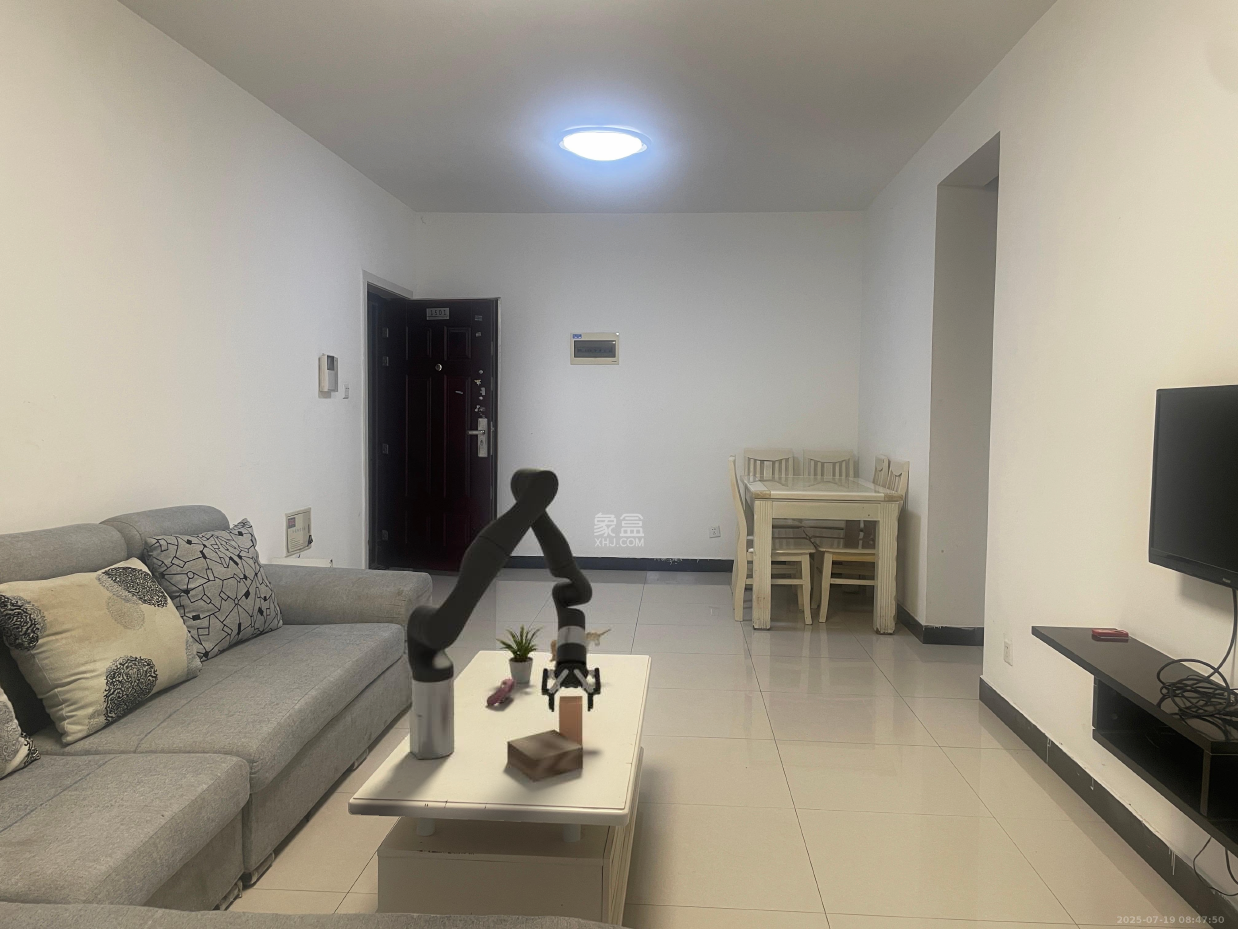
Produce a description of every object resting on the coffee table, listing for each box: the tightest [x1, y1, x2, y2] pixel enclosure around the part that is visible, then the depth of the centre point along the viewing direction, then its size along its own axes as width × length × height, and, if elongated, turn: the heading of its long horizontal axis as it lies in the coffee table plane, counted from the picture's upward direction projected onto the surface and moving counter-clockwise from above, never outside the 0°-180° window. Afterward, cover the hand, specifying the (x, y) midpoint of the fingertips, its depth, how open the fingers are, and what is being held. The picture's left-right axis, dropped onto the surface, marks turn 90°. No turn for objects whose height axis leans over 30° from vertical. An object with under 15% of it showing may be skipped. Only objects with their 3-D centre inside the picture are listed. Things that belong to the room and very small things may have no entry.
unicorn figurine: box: [548, 628, 612, 669], centre depth 238 cm, size 7×20×13 cm, turn 75°
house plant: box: [495, 623, 546, 684], centre depth 232 cm, size 14×14×16 cm
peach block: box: [558, 695, 583, 746], centre depth 186 cm, size 5×5×10 cm
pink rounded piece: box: [486, 677, 517, 706], centre depth 214 cm, size 10×5×7 cm, turn 169°
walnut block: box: [506, 729, 584, 783], centre depth 173 cm, size 12×12×5 cm
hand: (571, 710), depth 187 cm, fingers open, 8 cm apart
